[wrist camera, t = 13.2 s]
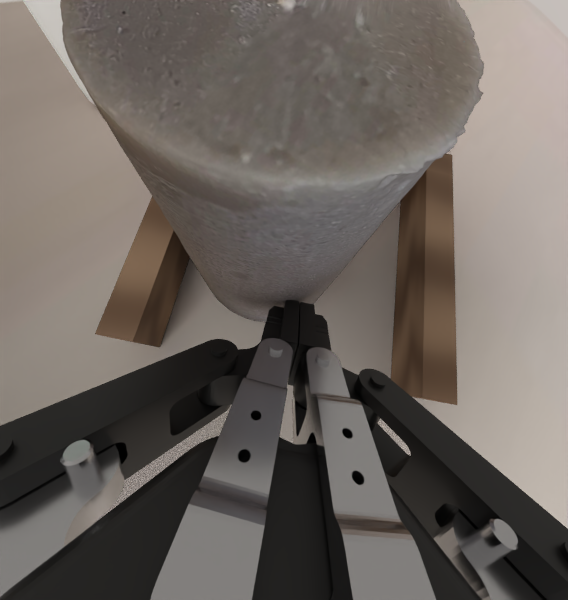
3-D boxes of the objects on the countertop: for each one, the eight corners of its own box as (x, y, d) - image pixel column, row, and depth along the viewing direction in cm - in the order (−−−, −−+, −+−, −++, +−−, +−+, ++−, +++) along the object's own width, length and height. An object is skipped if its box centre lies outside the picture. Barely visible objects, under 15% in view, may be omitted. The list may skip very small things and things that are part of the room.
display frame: (418, 397, 17) (457, 405, 13) (129, 341, 16) (94, 334, 13) (423, 187, 22) (452, 154, 18) (204, 139, 21) (193, 96, 18)
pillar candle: (177, 258, 18) (-164, -177, 4) (270, 186, 20) (290, -247, 6) (268, 352, 17) (313, 268, 2) (355, 263, 19) (639, -45, 5)
